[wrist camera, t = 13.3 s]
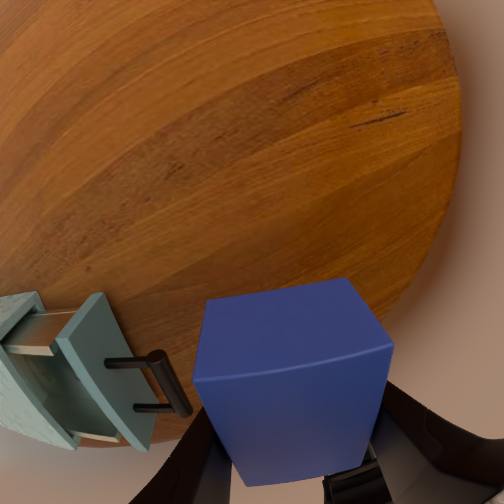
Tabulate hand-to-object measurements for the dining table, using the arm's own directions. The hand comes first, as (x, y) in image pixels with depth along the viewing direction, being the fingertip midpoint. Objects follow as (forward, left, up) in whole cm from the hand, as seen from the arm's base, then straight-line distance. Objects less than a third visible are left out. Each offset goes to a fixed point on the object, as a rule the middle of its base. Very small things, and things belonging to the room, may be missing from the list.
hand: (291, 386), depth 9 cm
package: (0, 0, -1) cm, 1 cm away
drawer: (-6, +17, -10) cm, 20 cm away
